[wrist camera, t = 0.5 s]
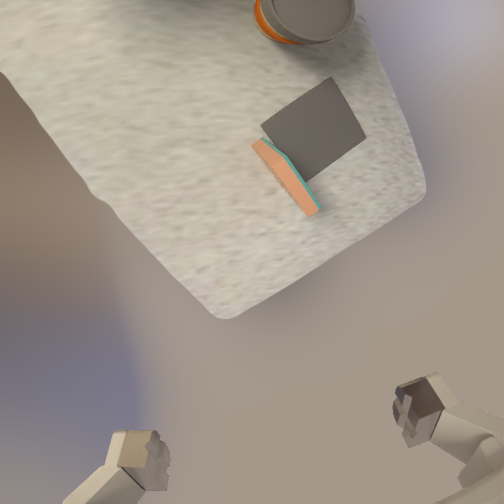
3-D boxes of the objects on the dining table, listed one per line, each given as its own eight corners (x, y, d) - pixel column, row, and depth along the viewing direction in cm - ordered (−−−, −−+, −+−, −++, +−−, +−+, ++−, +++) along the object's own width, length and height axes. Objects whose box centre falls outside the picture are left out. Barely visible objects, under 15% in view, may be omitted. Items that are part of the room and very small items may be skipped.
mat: (302, 183, 59) (302, 183, 59) (260, 125, 52) (260, 125, 52) (365, 137, 57) (366, 137, 56) (330, 76, 49) (331, 76, 49)
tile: (281, 186, 59) (308, 217, 47) (250, 145, 54) (271, 166, 42) (292, 178, 58) (321, 207, 47) (262, 137, 53) (286, 155, 41)
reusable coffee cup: (230, 30, 42) (247, 13, 30) (263, -24, 37) (291, -54, 25) (295, 63, 47) (333, 59, 35) (325, 9, 42) (369, -6, 30)
